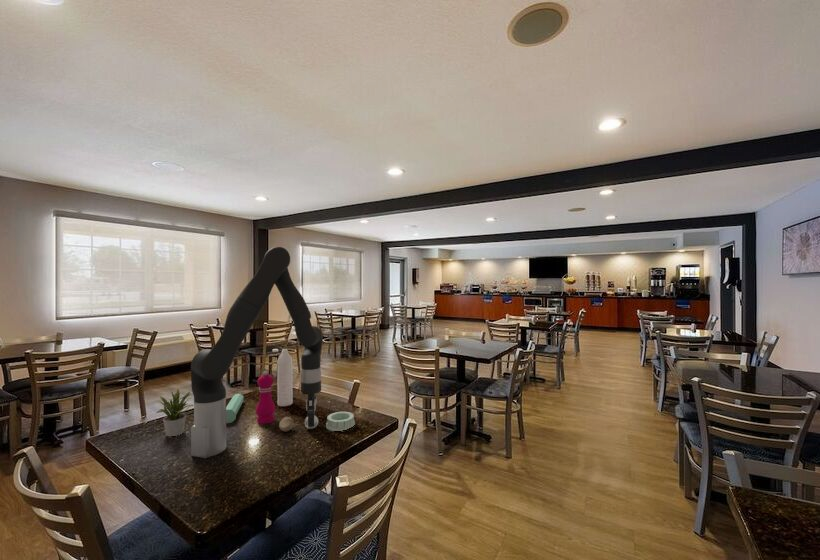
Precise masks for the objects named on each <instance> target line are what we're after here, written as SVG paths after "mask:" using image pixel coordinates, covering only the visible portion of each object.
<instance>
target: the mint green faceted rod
mask: <svg viewBox="0 0 820 560" xmlns="http://www.w3.org/2000/svg"><path fill="white" fill-rule="evenodd" d="M244 397H245V396H244V395H243V394H242V393H235V394H234V395H233V396H232V398H231V399H230V400H229V402H228V404H226V424H230V423H231V424H232V423H233V422H234V421H235V420H236V419H237V414H238V412H239V411H240V408H241V407H242V404H243V402H244V400H245V399H244Z"/></svg>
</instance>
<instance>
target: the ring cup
mask: <svg viewBox="0 0 820 560" xmlns="http://www.w3.org/2000/svg"><path fill="white" fill-rule="evenodd" d="M326 421H327V422H326V423H325V428H326V430H327V431H330V432H334V431H341V432H344V431H343V430H347V429H349V428H351V427H353V426H354V425H355V426H356V421H355V415H354V413H352V412H349V411H337V412H332V413H330V414H328V415H327V418H326ZM355 426H354V427H355ZM354 427H353V428H354ZM347 431H348V430H347Z"/></svg>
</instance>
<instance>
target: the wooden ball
mask: <svg viewBox="0 0 820 560" xmlns="http://www.w3.org/2000/svg"><path fill="white" fill-rule="evenodd" d="M278 427H279V429H280V430H281V431H282V432H289V431H291V430H292V428H293V427H294V420H293V419H292V418H291V417H288V416H285V417H283V418H281V420H280V421H279V425H278Z"/></svg>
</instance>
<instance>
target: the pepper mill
mask: <svg viewBox="0 0 820 560" xmlns="http://www.w3.org/2000/svg"><path fill="white" fill-rule="evenodd" d="M274 382H275V381H274V377H273V376H272V375H270V374H269V372H268V370H264V371H263V373H262V375H260V376H259V377H258V378H257V385H258V392H259V399H258V402H257V405H256V406H255V407H256V408H255V414H256V415H257V417H256V422H257V424H261V425H266V424H269V423H273V422H274V421H275V415H274V414H275V411H276V404H275V402H274V400H273V398H272V391H273V384H274Z"/></svg>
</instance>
